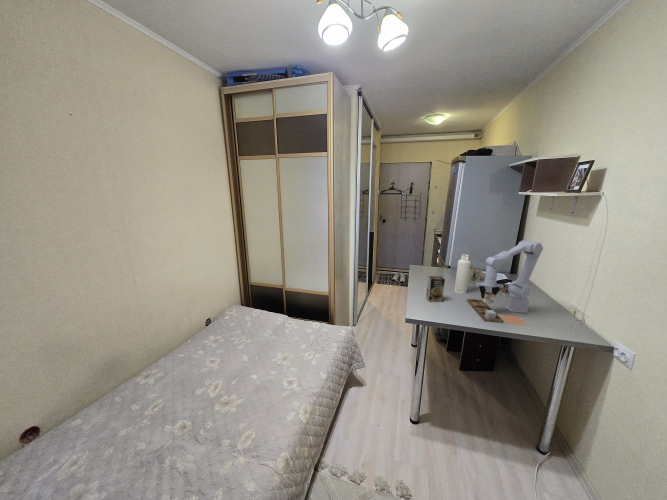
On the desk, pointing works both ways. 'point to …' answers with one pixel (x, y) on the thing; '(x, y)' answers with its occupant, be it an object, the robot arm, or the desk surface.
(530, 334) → the desk surface
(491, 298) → the letter cube
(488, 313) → the blank block
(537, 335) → the desk surface
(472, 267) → the ceramic cottage
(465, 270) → the bottle
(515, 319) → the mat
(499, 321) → the organizer
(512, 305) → the robot arm
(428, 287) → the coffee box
